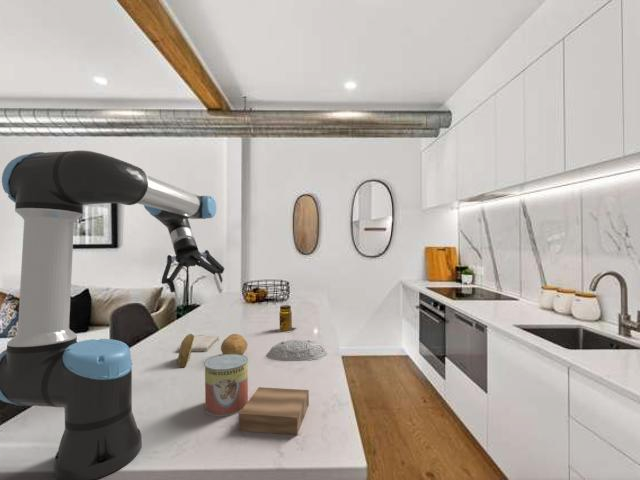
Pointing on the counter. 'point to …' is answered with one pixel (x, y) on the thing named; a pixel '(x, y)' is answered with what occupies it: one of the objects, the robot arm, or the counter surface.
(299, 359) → the silver oval dome
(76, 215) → the robot arm
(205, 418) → the counter surface
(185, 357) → the rock
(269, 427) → the walnut base
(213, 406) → the canned food
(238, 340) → the potato
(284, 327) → the condiment
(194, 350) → the washcloth
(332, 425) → the counter surface
